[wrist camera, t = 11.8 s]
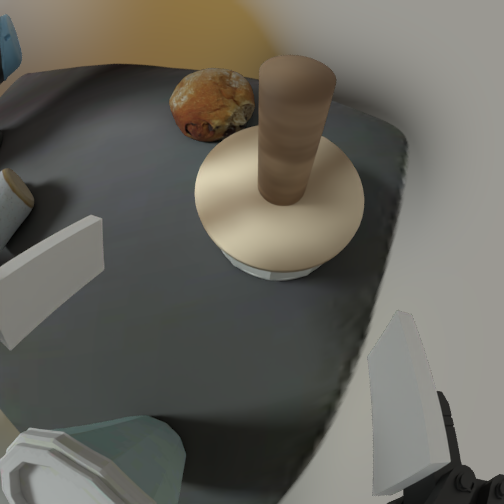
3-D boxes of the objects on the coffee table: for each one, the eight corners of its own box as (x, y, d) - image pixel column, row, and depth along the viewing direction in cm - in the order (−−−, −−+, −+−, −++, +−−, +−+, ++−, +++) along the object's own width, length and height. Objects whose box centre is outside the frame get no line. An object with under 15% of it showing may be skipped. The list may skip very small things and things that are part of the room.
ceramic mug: (44, 211, 27) (7, 180, 20) (9, 258, 25) (-31, 236, 18) (25, 174, 29) (-4, 145, 22) (-6, 214, 27) (-37, 191, 20)
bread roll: (248, 111, 35) (241, 58, 30) (268, 137, 28) (261, 67, 23) (178, 126, 35) (165, 74, 29) (177, 156, 28) (159, 87, 22)
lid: (167, 179, 22) (120, 73, 11) (289, 111, 24) (300, 11, 14) (265, 310, 18) (281, 266, 8) (390, 208, 21) (462, 120, 10)
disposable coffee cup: (172, 378, 21) (65, 412, 7) (234, 475, 18) (214, 590, 4) (86, 414, 20) (-30, 441, 6) (142, 502, 17) (70, 580, 3)
